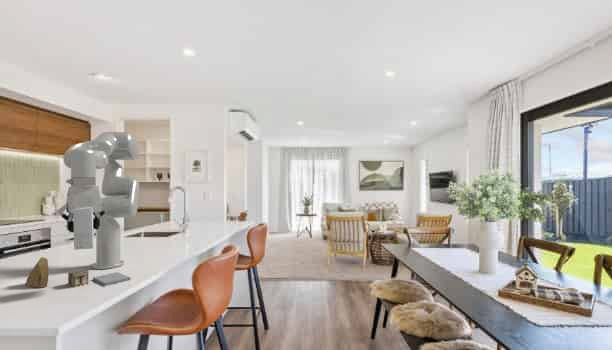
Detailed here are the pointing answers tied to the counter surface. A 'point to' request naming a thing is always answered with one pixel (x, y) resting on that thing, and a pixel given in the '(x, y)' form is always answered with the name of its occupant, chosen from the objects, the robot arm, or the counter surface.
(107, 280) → the slate mat
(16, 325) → the counter surface
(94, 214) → the robot arm
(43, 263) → the rock
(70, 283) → the walnut letter cube
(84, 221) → the skincare box
